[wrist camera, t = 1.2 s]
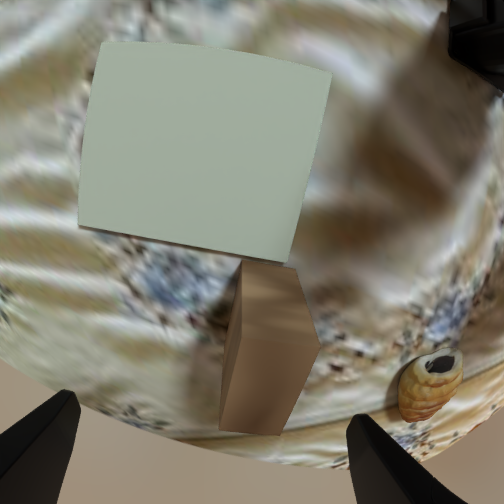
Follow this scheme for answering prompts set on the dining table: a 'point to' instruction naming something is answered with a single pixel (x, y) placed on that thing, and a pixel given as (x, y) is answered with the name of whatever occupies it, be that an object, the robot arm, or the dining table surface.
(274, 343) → the wooden block
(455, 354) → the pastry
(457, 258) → the dining table surface
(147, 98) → the mat
